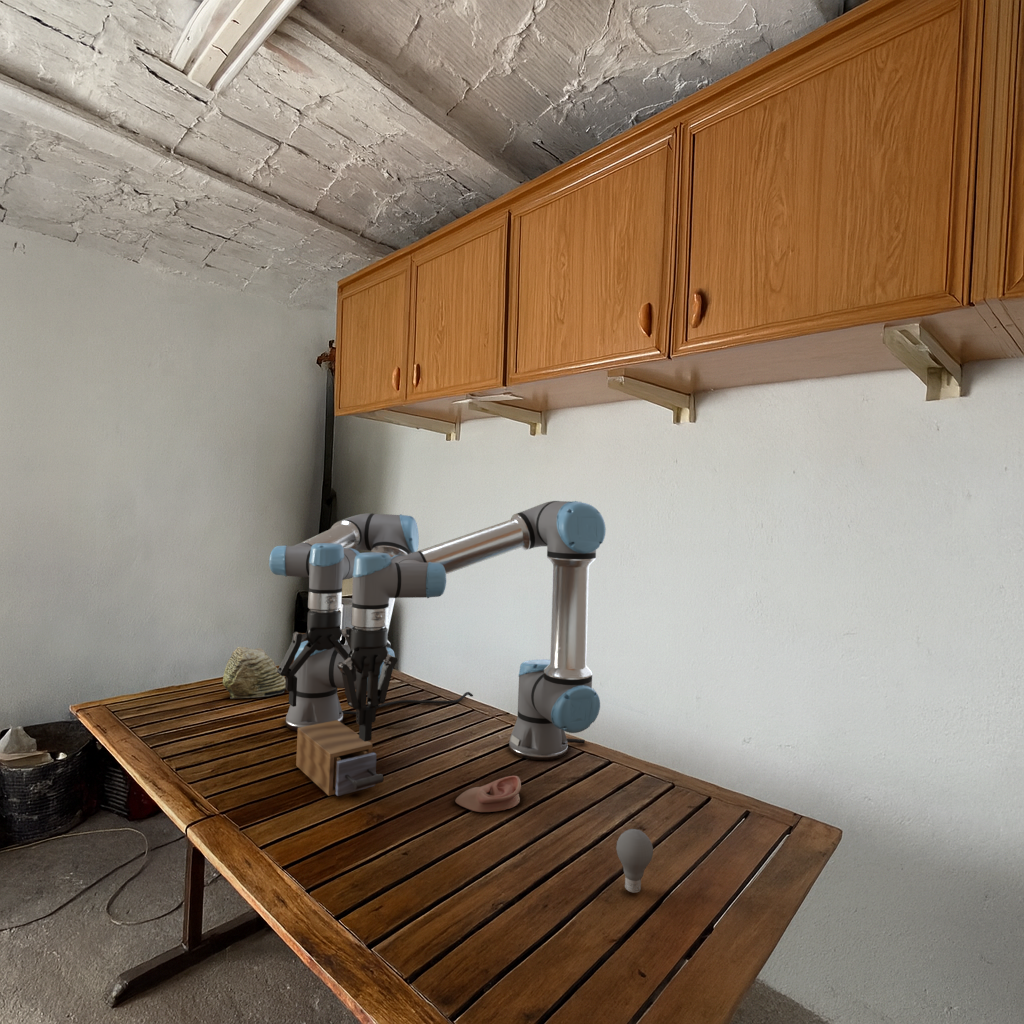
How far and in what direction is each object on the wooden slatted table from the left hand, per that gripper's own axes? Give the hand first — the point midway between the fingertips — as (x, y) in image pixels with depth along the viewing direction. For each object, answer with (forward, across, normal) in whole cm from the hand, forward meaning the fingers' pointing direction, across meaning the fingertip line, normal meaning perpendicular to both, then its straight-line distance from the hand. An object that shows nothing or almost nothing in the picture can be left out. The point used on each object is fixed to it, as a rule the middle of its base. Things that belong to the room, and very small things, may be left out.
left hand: (321, 700), depth 148 cm
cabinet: (+16, +1, -6) cm, 17 cm away
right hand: (+2, +1, -21) cm, 21 cm away
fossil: (+16, +3, +61) cm, 63 cm away
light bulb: (+16, +24, -74) cm, 80 cm away
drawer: (+15, +1, -13) cm, 19 cm away
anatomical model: (+16, +23, -36) cm, 45 cm away
